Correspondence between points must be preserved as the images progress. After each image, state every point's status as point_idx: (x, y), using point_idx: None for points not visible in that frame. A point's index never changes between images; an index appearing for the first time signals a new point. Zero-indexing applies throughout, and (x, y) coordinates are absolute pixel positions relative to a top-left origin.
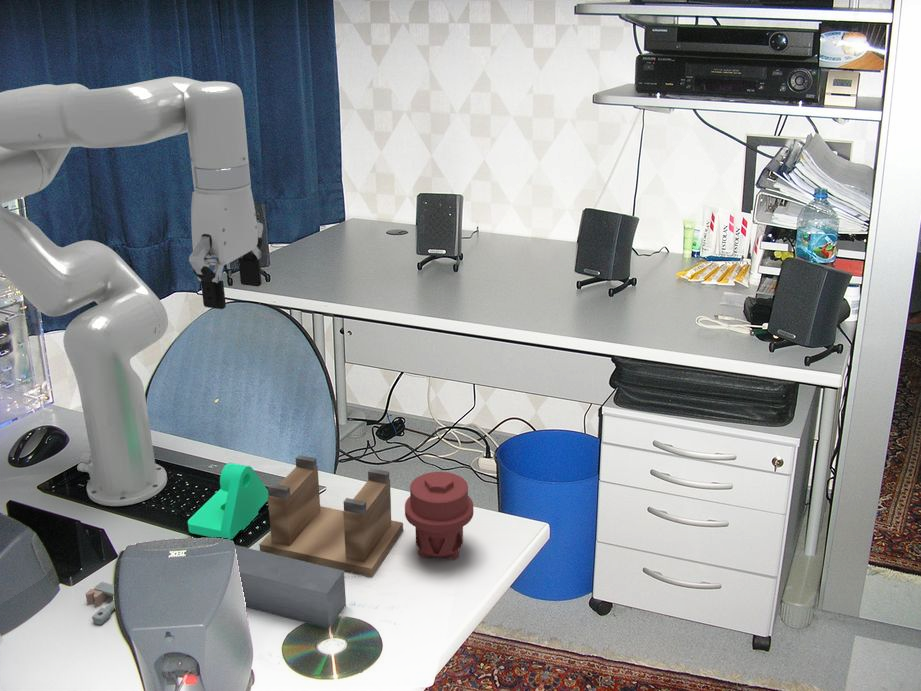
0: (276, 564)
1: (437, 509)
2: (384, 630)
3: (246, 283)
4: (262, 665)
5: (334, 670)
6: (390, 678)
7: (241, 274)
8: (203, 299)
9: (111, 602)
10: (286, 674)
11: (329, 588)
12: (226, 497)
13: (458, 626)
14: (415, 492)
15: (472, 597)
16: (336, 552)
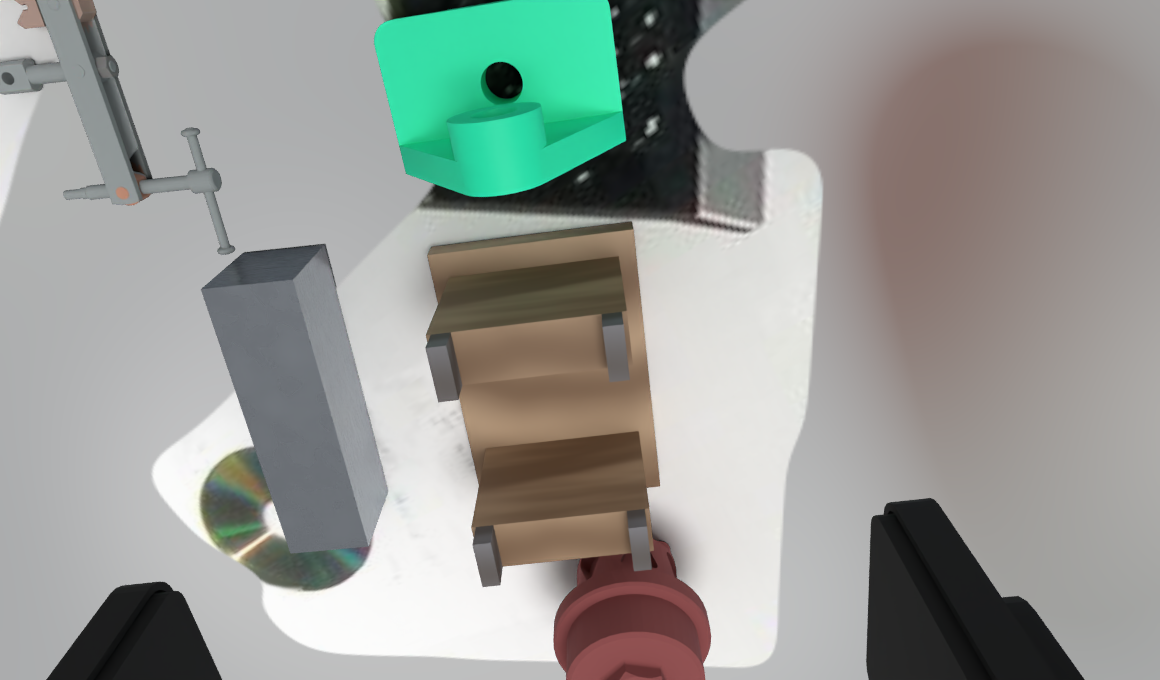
0: (301, 423)
1: None
2: (371, 571)
3: (877, 576)
4: (171, 452)
5: (243, 551)
6: (284, 622)
7: (916, 617)
8: (81, 641)
9: (50, 70)
10: (184, 495)
11: (306, 549)
12: (539, 45)
13: (447, 654)
14: (584, 658)
15: (526, 646)
16: (493, 422)
